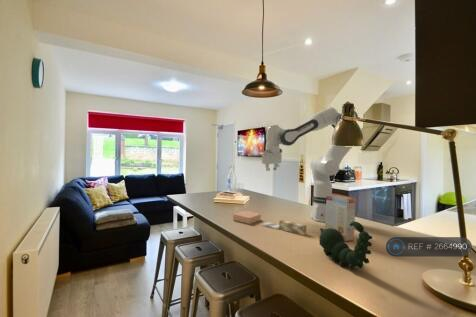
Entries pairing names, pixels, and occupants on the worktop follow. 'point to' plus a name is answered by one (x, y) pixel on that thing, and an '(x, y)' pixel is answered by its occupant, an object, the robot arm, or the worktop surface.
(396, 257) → the worktop surface
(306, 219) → the worktop surface
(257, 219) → the tile
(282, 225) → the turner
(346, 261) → the toy figurine
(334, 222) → the cracker box
